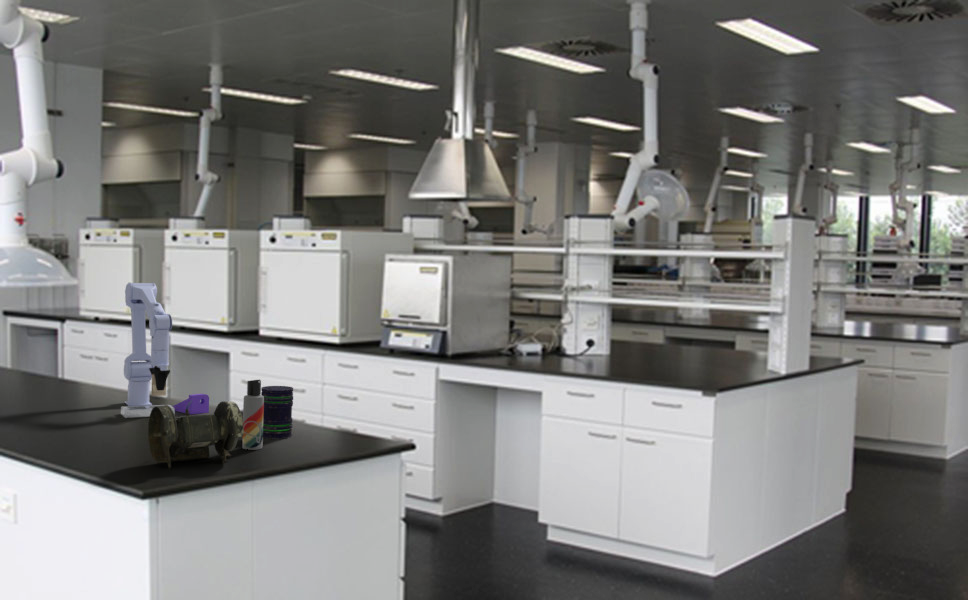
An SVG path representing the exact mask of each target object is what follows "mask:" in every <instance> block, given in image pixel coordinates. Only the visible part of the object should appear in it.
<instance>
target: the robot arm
mask: <svg viewBox="0 0 968 600" xmlns="http://www.w3.org/2000/svg"><path fill="white" fill-rule="evenodd" d="M124 293H125V296H124V298H125V299H124V300H125V306H126V307H129V309H130V315H131V316H130V317H131V320H130V321H131V322H130V323H131V347H132V349H131V351H132V353H130V354H129V355H127V356H126V357H125V359H124V366H123V376H124V378H125V380H127V381H128V385H127V400H124V403H125V404H126V406H150V405H153V403H152V402H150V392H151V390H150V388H151V387H150V384H151V382H150V381H152V374H154V376H155V380H156V388H157V390H164V388H165V383H166V384H167V378H168V377H169V374H171V370H170V369H168V366H170V362H169V360H170V359H169V358H170V357H169V354H170V351H169V349H170V331H171V330H172V328H173V318H172V314H170V313H166V312H165V310H164V308H163V305H162V303H160V302H157V297H158V296H157V295H158V288H157V285H156V283H155V282H150V283H149V282H148V283H147V282H139V283H138V282H128V283H127V284H126V285H125V290H124ZM146 317H147V318H148V320H149V322H148V325H149V326H148V327H149V332H150V333H149V335H150V337H151V339H150V340H151V346H150V353H151V354H149V353H148V352H147V331H146Z"/></svg>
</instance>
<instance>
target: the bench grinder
mask: <svg viewBox="0 0 968 600" xmlns="http://www.w3.org/2000/svg"><path fill="white" fill-rule="evenodd" d="M191 402H192V401H190V402H189V404H188V405H187V407H186V410H185V411H186V413H185V416H179V417H176V416H175V415H174V413H173V411H172V409H171V408H170V407H169V406H168V405H169V404H163V405H164V406H156V407H154V408H153V409H152V411H151V413H150V417H148V422H147V423H148V425H147V430H148V431H147V439H148V440H147V441H148V446H149V450H150V453H151V454H150V455H151V456H152V458H153V460H154V461H155V462H156V463H157V464H163V463H165V464H167V466H168V469H171V467H172V463H173V461H174V462H182V461H184V460H185V461H194V460H195V459H196V460H203V459H209V458H210V457H211V454H210V446H214V449H215V451H216V452H217V454H218V455H219V456H220V457H221V463H222V464H223V463H225V462H226V461H227V457H231V456H232V455H231V453H229V452H231V451H233V450H234V449H235V448H236V446H237V443H238V440H239V438H241V437H243V435H244V429H243V414H242V412H241V409H240V407H239V405H238V404H237V403H236V402H235V401H232V400H231V401H220V402H219V403H218V404H217V406H216V408H215V410H214V412H213V414H192V415H190V414H189V410H188V407H189V405H190V403H191Z"/></svg>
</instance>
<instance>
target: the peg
mask: <svg viewBox="0 0 968 600" xmlns="http://www.w3.org/2000/svg"><path fill="white" fill-rule="evenodd" d="M151 395H152V396H153V397H161V396H162V397H163V396H167V382H166V383H165V388H164V390H157V388H156V380H155V376H154V374H152V378H151Z"/></svg>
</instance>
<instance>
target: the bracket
mask: <svg viewBox="0 0 968 600" xmlns="http://www.w3.org/2000/svg"><path fill="white" fill-rule="evenodd" d="M209 396H210V395H208V394H206V393H196V394H195V393H194V394H193V393H192V394H188V398H187V399H184V400H182V401H181V402H179V403H176V404H174V405H171V406H172V407H174V408H175V412H179V413H182V414H183V413H184V414H186V411H185V410H186V407H187V405H188V404H189V402H190V401H192V402H191V403H190V405H189V407H188V410H189V415H201V414H205V413H210V412H209V411H210V397H209Z"/></svg>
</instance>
